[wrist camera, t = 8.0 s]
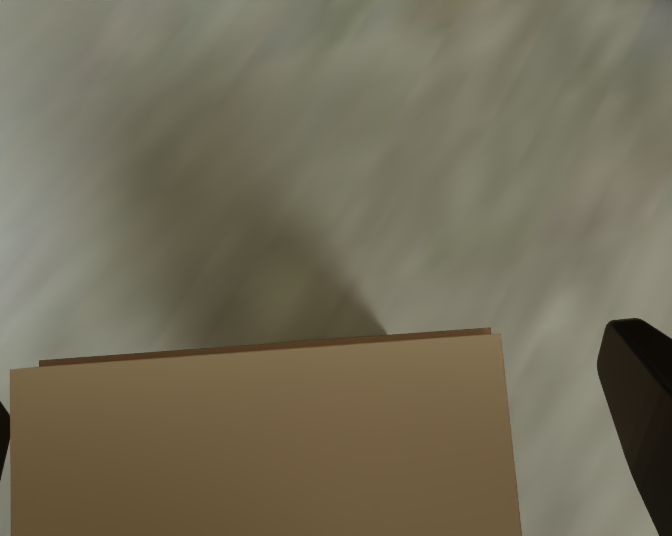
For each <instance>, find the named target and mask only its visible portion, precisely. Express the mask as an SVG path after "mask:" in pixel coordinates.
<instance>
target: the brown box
mask: <svg viewBox="0 0 672 536" xmlns="http://www.w3.org/2000/svg"><path fill="white" fill-rule="evenodd" d="M10 456H11V536H522V531H521V522H520V512H519V503H518V493H517V484H516V474H515V465H514V455H513V446H512V436H511V427H510V417H509V408H508V398H507V389H506V379H505V370H504V360H503V351H502V341H501V334H491V328H477V329H463V330H449V331H436V332H422V333H408V334H394V335H381V336H367V337H353V338H340V339H326V340H312V341H298V342H285V343H271V344H257V345H244V346H230V347H216V348H202V349H189V350H175V351H161V352H148V353H134V354H120V355H106V356H93V357H79V358H66V359H53V360H39V367H32V368H21V369H11V370H10Z"/></svg>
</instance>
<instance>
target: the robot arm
mask: <svg viewBox="0 0 672 536" xmlns="http://www.w3.org/2000/svg"><path fill="white" fill-rule="evenodd" d="M597 371H598V375H599V379H600V382H601V385H602V388H603V391H604V394H605V397H606V400H607V403H608V406H609V409H610V412H611V415H612V418H613V421H614V424H615V427H616V430H617V434H618V437H619V440H620V443H621V446H622V449H623V452H624V455H625V458H626V461H627V463H628V466H629V469H630V472H631V474H632V477H633V479H634V481H635V484H636V486H637V488H638V491H639V493H640V495H641V497H642V499H643V501H644V504H645V506H646V508H647V510H648V512H649V514H650V517H651V519H652V521H653V523H654V525H655V527H656V530H657V532H658V534H659V536H672V339H671V338H670V337H668V336H667V335H665V334H664V333H662V332H661V331H659V330H657V329H656V328H654V327H653V326H651V325H650V324H648V323H647V322H645V321H643V320H641V319H638V318H630V319H619V320H612V321H610V322H609V323H608V324H607V325H606V328H605V331H604V335H603V339H602V343H601V347H600V351H599V355H598V359H597ZM9 441H10V415H9V413H8V412H7V410H6V409H5V407H4V406H3V404H2V403H1V402H0V480H1V476H2V471H3V467H4V463H5V458H6V454H7V450H8V445H9Z"/></svg>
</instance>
